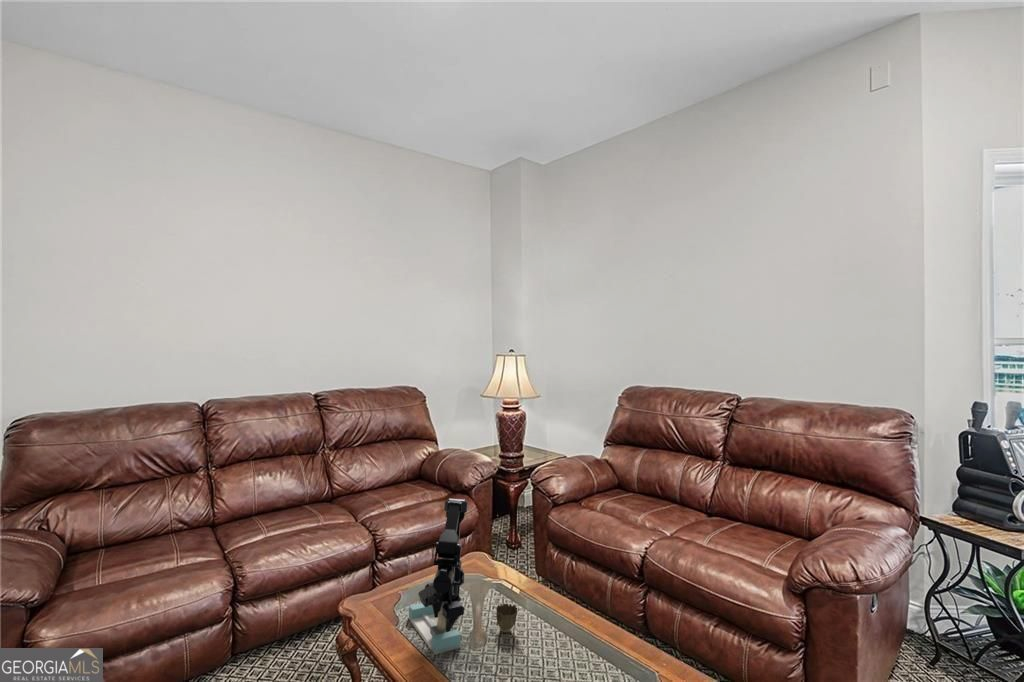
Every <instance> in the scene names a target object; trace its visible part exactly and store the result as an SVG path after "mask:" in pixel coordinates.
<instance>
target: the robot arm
mask: <svg viewBox="0 0 1024 682" xmlns="http://www.w3.org/2000/svg"><path fill="white" fill-rule="evenodd" d="M468 504H469V503H468V502H467V500H466V499H465V498H451V497H450V498H448V499H447V500H445V501H444V506H443V507H444V509H443V512H445V518H446V520H445V525H444V531H443V532H442V533H441V534H440V535H439V537H438V538H439V539H438V541H437V542H436V543H435V551H434V559H433V566H437V570H436V572H435V575H434V579H433V582H430V583H429V582H428V583H426V585H425V586H424V588H423V589H422V590H420V591H418V592H417V594H418V597H419V601H420V603H422V604H423V605H424V607H428V606H432V607H433V612H434V617H435V618H437V617H438V612H440V611H442V612H443V613H442V615H443V616H444V617H445V622H446V632H449V631H450V630H451V628H452V629H453V626H454V625H455V623H456V622H457V620H458V618H460V617H461V616H464V614H465V607H464V605H462V604H461V603H460V601H461V599H462V598H461V597H460V592H461V591H460V587H461V586H462V584H463V585H464V583H465V572H464V569H463V568H462V561H461V554H462V547H461V544H460V535H461V524H462V522H463V520H464V519H465V517H466V513H468V508H469V507H468V506H469V505H468ZM442 605H443V606H442Z"/></svg>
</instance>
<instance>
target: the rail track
mask: <svg viewBox="0 0 1024 682" xmlns="http://www.w3.org/2000/svg"><path fill="white" fill-rule="evenodd" d="M407 617H408V618H407V619H408V620H409V621H410V623H411V624H412V626H413V627H414V628H415V629H416V631H417V633H419V635H420V637H421V638H422V639H423V640H424V642H425V644H426V645H427V646H428V648H429V649H430V651H431V652H432V653H433V655H434V656H435V655H438V654H443V653H446V652H449V651H453V650H457V649H460V648H461V643H462V641H461V640H462V634H461V633H462V632H460V630H459V629H453V631H449V632H445V633H441V634H437V635H433V636H432V635H431V633H430V627H432V626H436V625H437V622H438V617H437V618H435V617H434V612H433V607H432V606H428V607H424V605H423V604H422V603H421V602H419V603H416V604H411V605H409V607H408V616H407Z"/></svg>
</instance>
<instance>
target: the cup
mask: <svg viewBox="0 0 1024 682" xmlns="http://www.w3.org/2000/svg"><path fill="white" fill-rule="evenodd" d="M495 610H496V622H497V625H498V627H499V629H500V632H501V633H503V634H509V633H510V632H511V630H512V628H514V626H515V625H516V621H517V616H518V607H516V605H515V604H511V603H510V604H508V603H503V604H500V605H498V604H497V605H496V609H495Z"/></svg>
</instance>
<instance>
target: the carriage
mask: <svg viewBox="0 0 1024 682" xmlns="http://www.w3.org/2000/svg"><path fill="white" fill-rule="evenodd" d="M442 613H443V612H442V610H440V612H438V622H437V625H436V626H432V627H430V633H431V635H432V636H433V635H437V634H441V633H445V632H446V622H445V617H444V616H443V615H442ZM453 630H454V629H453V627H452V628H451V630H450V631H453Z"/></svg>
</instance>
